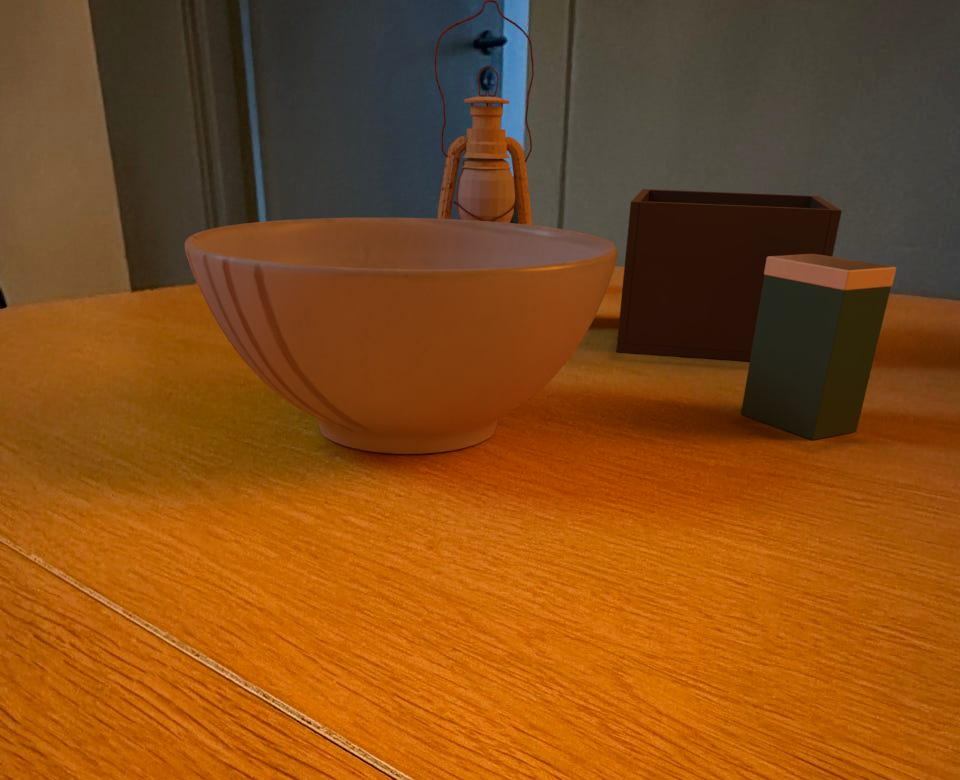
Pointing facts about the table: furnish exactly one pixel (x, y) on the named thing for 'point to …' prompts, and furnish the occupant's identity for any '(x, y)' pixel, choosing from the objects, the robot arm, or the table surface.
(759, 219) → the waste bin
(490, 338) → the decorative bowl
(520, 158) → the lantern
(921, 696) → the table surface
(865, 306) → the block
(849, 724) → the table surface
